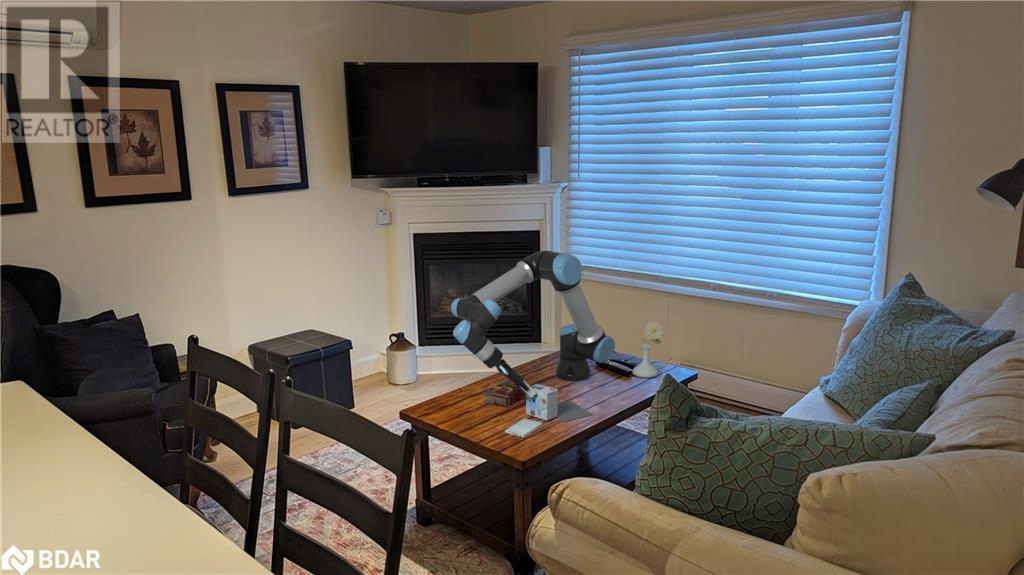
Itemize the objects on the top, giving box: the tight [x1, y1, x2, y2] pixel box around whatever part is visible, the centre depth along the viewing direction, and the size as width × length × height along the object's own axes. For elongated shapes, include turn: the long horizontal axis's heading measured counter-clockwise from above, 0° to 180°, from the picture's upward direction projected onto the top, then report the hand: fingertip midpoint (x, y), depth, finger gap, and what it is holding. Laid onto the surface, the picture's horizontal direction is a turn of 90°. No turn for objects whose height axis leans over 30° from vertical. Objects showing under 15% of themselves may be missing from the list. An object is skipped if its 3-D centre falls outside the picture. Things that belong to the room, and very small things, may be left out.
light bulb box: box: [525, 383, 559, 421], centre depth 262 cm, size 11×7×11 cm, turn 48°
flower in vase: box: [631, 321, 664, 379], centre depth 304 cm, size 13×11×25 cm
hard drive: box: [504, 418, 543, 438], centre depth 252 cm, size 2×8×12 cm
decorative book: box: [483, 381, 526, 408], centre depth 280 cm, size 11×16×5 cm
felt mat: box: [556, 400, 594, 423], centre depth 268 cm, size 13×16×1 cm
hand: (533, 394), depth 259 cm, fingers closed
